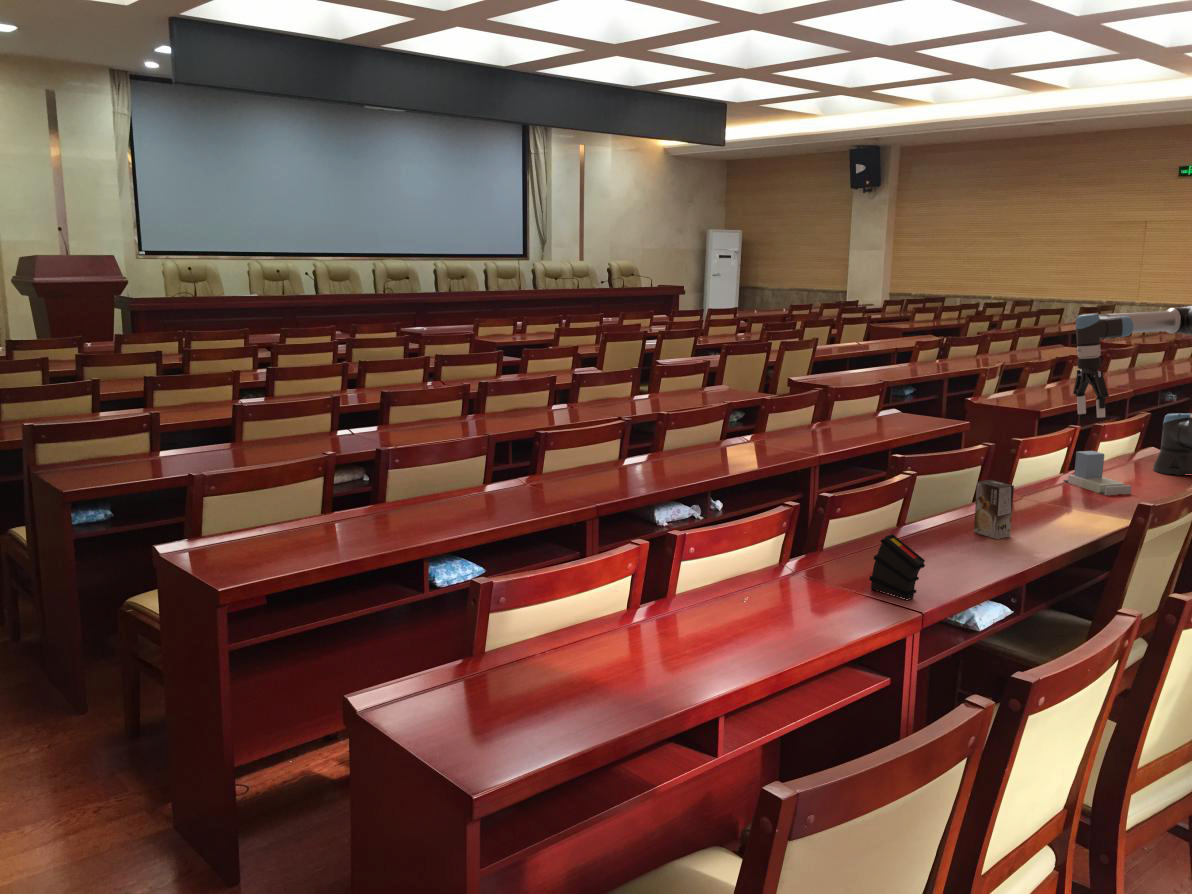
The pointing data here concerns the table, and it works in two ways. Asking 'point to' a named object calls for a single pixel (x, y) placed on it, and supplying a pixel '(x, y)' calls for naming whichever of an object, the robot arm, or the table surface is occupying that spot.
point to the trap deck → (1100, 485)
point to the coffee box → (993, 509)
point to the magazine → (896, 568)
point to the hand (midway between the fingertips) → (1091, 415)
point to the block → (1089, 464)
